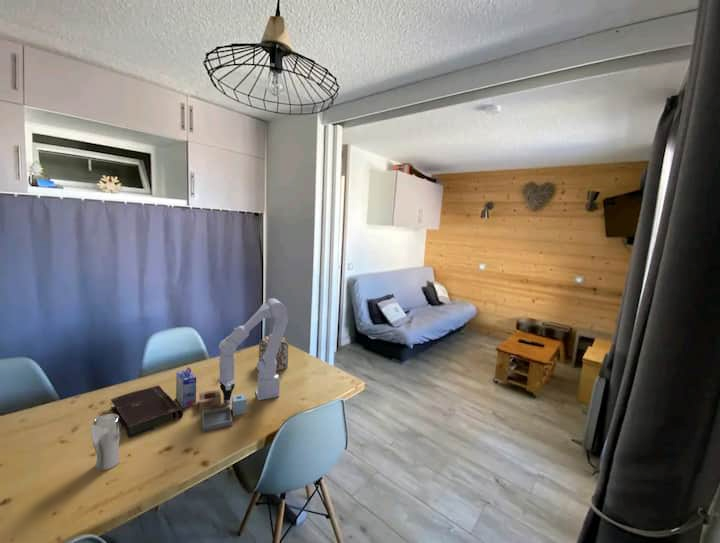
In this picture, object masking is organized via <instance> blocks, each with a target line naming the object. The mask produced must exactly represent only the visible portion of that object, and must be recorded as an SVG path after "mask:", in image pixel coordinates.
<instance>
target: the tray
mask: <svg viewBox="0 0 720 543" xmlns="http://www.w3.org/2000/svg"><path fill="white" fill-rule="evenodd" d="M231 411H232V409H231V406H227V407H221V408H217V409H211V410H206V411H201V418H202V419H201V420H202V422H201V423H202V433H205V432H210V431H215V430H218V429H223V428H228V427H232V426H233V417H232V416H233V415H232V412H231Z"/></svg>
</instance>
